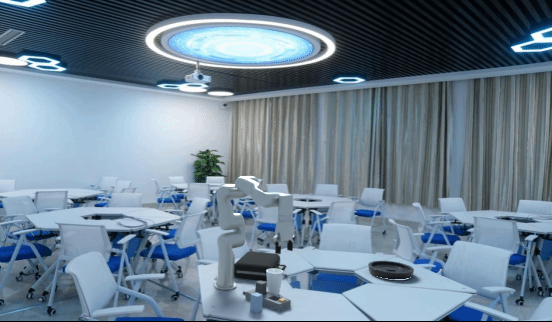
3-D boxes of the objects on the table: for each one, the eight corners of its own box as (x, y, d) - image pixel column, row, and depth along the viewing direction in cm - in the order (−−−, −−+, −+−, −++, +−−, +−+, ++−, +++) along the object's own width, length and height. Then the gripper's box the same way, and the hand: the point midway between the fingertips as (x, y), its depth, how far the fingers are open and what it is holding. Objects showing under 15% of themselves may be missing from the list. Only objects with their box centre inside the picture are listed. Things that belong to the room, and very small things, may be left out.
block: (250, 310, 196) (250, 294, 195) (255, 307, 199) (256, 292, 198) (256, 312, 193) (257, 296, 193) (262, 310, 196) (262, 294, 196)
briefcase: (280, 284, 237) (281, 268, 237) (230, 279, 243) (231, 263, 243) (289, 267, 273) (290, 253, 273) (245, 263, 279) (246, 249, 279)
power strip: (237, 295, 215) (238, 278, 215) (249, 291, 222) (249, 274, 222) (279, 311, 196) (280, 292, 195) (290, 306, 202) (291, 288, 202)
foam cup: (271, 298, 213) (272, 274, 213) (262, 292, 221) (263, 269, 220) (285, 294, 219) (286, 271, 219) (275, 289, 226) (276, 267, 226)
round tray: (420, 283, 251) (405, 269, 281) (420, 273, 251) (405, 261, 281) (373, 280, 252) (363, 267, 282) (373, 271, 252) (364, 259, 282)
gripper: (289, 216, 207) (288, 248, 207) (268, 219, 193) (267, 253, 194) (301, 217, 202) (300, 250, 202) (280, 221, 189) (279, 256, 189)
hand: (284, 252), depth 198 cm, fingers open, 9 cm apart
